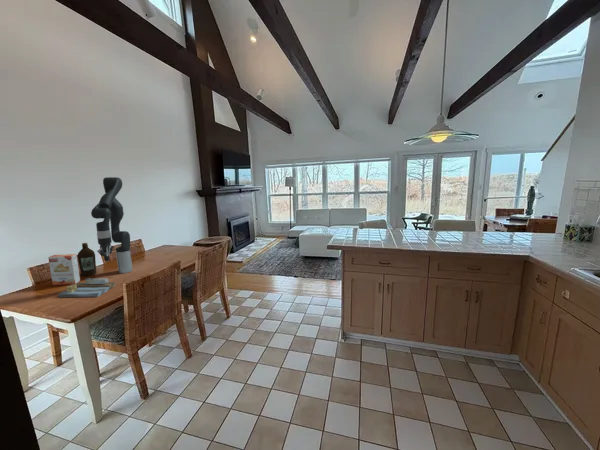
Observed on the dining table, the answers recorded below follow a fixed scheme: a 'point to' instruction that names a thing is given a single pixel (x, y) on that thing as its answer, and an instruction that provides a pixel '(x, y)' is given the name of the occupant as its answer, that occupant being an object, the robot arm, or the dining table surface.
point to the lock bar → (96, 280)
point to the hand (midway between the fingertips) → (107, 260)
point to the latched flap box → (86, 290)
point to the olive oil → (86, 261)
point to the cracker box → (64, 269)
